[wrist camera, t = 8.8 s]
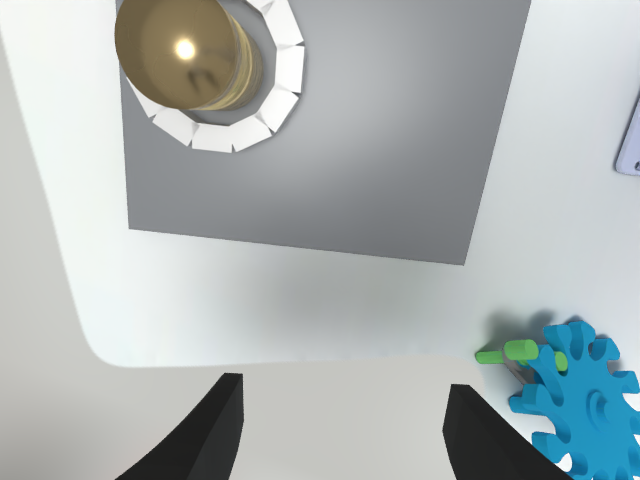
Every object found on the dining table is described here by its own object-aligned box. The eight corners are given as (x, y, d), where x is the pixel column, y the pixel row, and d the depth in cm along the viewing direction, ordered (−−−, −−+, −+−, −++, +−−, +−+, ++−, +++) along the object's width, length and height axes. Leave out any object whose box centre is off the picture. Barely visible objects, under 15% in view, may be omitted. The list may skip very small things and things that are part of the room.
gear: (675, 398, 23) (655, 572, 18) (577, 393, 28) (540, 528, 23) (563, 270, 22) (507, 416, 17) (483, 289, 27) (422, 406, 22)
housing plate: (525, -14, 18) (556, -34, 15) (458, 259, 22) (473, 276, 20) (123, -64, 17) (90, -93, 15) (137, 223, 22) (114, 237, 19)
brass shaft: (264, 23, 17) (233, -21, 12) (263, 113, 19) (235, 112, 13) (178, 18, 17) (107, -29, 12) (183, 108, 19) (121, 105, 13)
